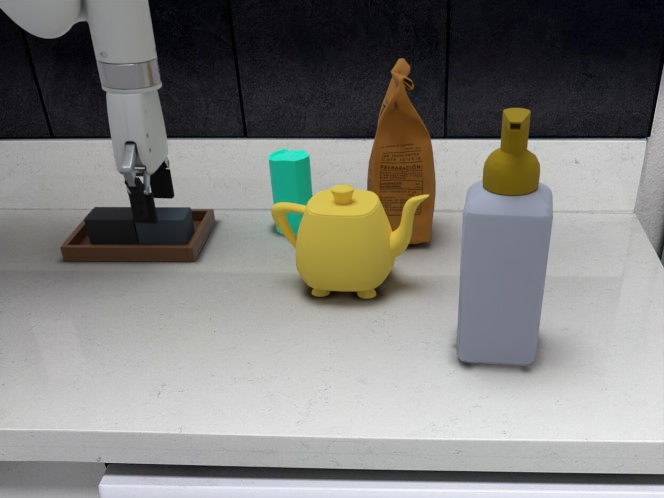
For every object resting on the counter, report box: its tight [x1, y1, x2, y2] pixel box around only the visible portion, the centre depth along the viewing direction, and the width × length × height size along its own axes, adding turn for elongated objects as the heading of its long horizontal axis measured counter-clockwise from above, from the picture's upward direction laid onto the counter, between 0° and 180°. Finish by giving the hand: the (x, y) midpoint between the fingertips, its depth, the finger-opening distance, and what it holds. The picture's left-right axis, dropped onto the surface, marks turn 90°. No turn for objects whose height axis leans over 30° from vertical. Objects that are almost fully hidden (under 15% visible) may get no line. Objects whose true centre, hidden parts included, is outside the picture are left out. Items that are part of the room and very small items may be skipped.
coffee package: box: [366, 58, 437, 245], centre depth 110 cm, size 10×12×22 cm
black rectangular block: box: [83, 206, 139, 244], centre depth 115 cm, size 7×5×4 cm
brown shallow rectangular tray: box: [59, 208, 216, 263], centre depth 115 cm, size 19×15×2 cm
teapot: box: [270, 183, 429, 300], centre depth 101 cm, size 13×20×12 cm
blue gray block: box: [135, 206, 195, 244], centre depth 114 cm, size 7×5×4 cm
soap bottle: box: [455, 107, 554, 367], centre depth 84 cm, size 9×9×25 cm
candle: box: [268, 142, 314, 237], centre depth 115 cm, size 6×6×12 cm
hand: (155, 209), depth 113 cm, fingers open, 9 cm apart
